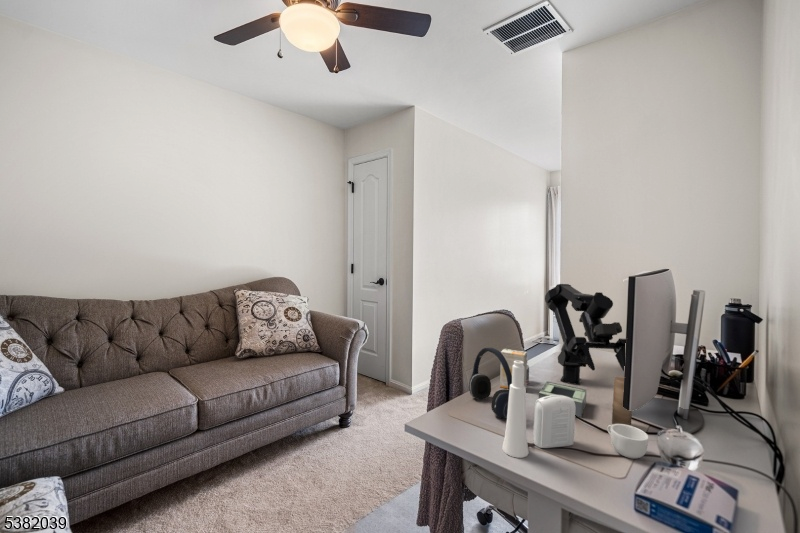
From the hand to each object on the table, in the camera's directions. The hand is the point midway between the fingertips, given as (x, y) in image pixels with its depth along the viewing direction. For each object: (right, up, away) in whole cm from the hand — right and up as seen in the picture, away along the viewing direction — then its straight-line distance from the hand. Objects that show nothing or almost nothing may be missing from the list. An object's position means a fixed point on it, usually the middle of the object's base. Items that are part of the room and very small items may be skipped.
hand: (609, 370), depth 107 cm
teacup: (-8, -14, -20) cm, 26 cm away
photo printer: (-25, -14, -18) cm, 33 cm away
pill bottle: (-19, -12, +24) cm, 33 cm away
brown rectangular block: (-1, -13, -7) cm, 15 cm away
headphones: (-35, -12, +3) cm, 37 cm away
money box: (-12, -13, +5) cm, 18 cm away
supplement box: (-23, -12, +19) cm, 32 cm away
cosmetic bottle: (-35, -14, -21) cm, 43 cm away
